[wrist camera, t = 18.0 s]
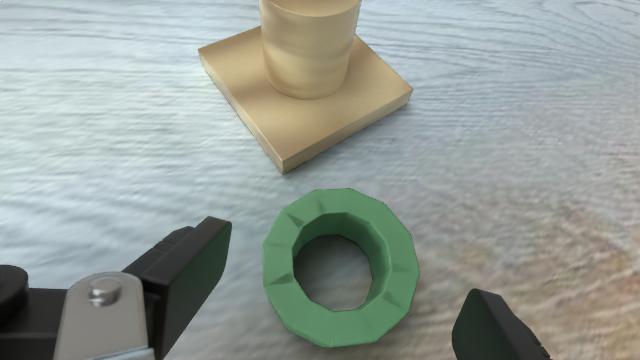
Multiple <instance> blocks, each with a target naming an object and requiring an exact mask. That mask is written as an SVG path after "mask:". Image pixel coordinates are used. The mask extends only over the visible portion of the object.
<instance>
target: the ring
mask: <svg viewBox="0 0 640 360" xmlns="http://www.w3.org/2000/svg"><path fill="white" fill-rule="evenodd" d="M336 234H339V235H341V236H343V237H345V238H347V239H349V240H352V241H354V242H356V243H357V244H358V245H359V247H360V248H361V249H362V251H363V252H364V253H365V254H366V256H367V257H368V258H369V261H370V267H371V272H372V278H373V283H372V285H371V288H370V291H369V294H368V297H367V299H366V302H365V303H364V304H362V305H361V306H360V307H359V308H357V309H356V310H347V311H337V312H334V311H332V310H330V309H328V308H326V307H324V306H322V305H320V304H318V303H316V302H314V301H312V300H310V299H309V298H308V297H307V295H306V294H305V292H304V291H303V289H302V287H301V286H300V284H299V283H298V281H297V280H296V278H295V277H294V269H293V262H294V260H295V258H296V256H297V254H298V252H299V250H300V248H301V247H302V246H303V245H305V244H306V243H308V242H309V241H311V240H312V239H314V238H315V237H317V236H322V235H336ZM419 273H420V271H419V267H418V263H417V259H416V254H415V250H414V246H413V242H412V238H411V234H410V233H409V231H408V230H407V229H406V228H405V227H404V225H403V224H402V223H401V222H400V221H399V220H398V218H397V217H396V216H395V215H394V214H393V212H392V211H391V210H390V209H389V208H388V207H387V205H385V204H384V203H383V202H380V201H378V200H376V199H373V198H371V197H369V196H367V195H364V194H362V193H360V192H358V191H355V190H353V189H350V188H345V189H326V190H314V191H312V192H310V193H309V194H307V195H305V196H304V197H302V198H300V199H299V200H297V201H295V202H294V203H292V204H290V205H289V206H287V207H285V208H284V209H283V210H282V211H281V212H280V214H279V216H278V218H277V219H276V221H275V223H274V225H273V227H272V228H271V230H270V232H269V234H268V236H267V237H266V239H265V241H264V244H263V284H264V288H265V291H266V293H267V296H268V298H269V300H270V302H271V303H272V305H273V307H274V308H275V310H276V312H277V313H278V315H279V316H280V318H281V320H282V321H283V323H284V325H285V326H286V328H287V329H289V331H291V332H292V333H294V334H296V335H298V336H300V337H302V338H304V339H306V340H308V341H310V342H312V343H314V344H316V345H318V346H320V347H330V348H333V347H341V346H350V345H359V344H367V343H373V342H376V341H378V340H379V339H380V338H381V337H382V336H383V335H384V334H386V333H387V332H388V331H389V330H390V329H391V328H392V327H394V326H395V325H396V324H397V323H398V322H399V321H400V320H402V319H403V318H404V317H405V316H406V315H407V313H408V312H409V309H410V306H411V302H412V299H413V296H414V292H415V289H416V285H417V282H418V278H419V275H420V274H419Z"/></svg>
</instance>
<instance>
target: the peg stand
mask: <svg viewBox="0 0 640 360" xmlns="http://www.w3.org/2000/svg"><path fill="white" fill-rule="evenodd" d="M361 2H362V0H259V8H260V20H261V26H259V27H256V28H254V29H251V30H248V31H246V32H243V33H240V34H237V35H235V36H232V37H229V38H227V39H224V40H221V41H218V42H216V43H213V44H210V45H208V46H205V47H202V48H200V49H198V52H199V56H200V59H201V62H202V65H203V68H204V69H205V70H206V72H207V73H208V74H209V76H210V77H211V78H212V80H213V81H214V82H215V84H216V85H217V87H218V88H219V89H220V91H221V92H222V93H223V95H224V96H225V97H226V99H227V100H228V101H229V103H230V104H231V105H232V107H233V108H234V110H235V111H236V112H237V114H238V115H239V116H240V118H241V119H242V120H243V122H244V123H245V124H246V126H247V127H248V128H249V130H250V131H251V132H252V134H253V135H254V137H255V138H256V139H257V141H258V142H259V143H260V145H261V146H262V147H263V149H264V150H265V151H266V153H267V154H268V155H269V157H270V158H271V159H272V161H273V162H274V164H275V165H276V166H277V168H278V169H279V170H280V172H281V173H282V174H284V173H286V172H288V171H290V170H291V169H293V168H295V167H297V166H298V165H300V164H302V163H304V162H305V161H307V160H309V159H311V158H313V157H314V156H316V155H318V154H320V153H321V152H323V151H325V150H327V149H328V148H330V147H332V146H334V145H335V144H337V143H339V142H341V141H343V140H344V139H346V138H348V137H350V136H351V135H353V134H355V133H357V132H358V131H360V130H362V129H364V128H366V127H367V126H369V125H371V124H373V123H374V122H376V121H378V120H380V119H381V118H383V117H385V116H387V115H389V114H390V113H392V112H394V111H396V110H397V109H399V108H401V107H403V106H404V105H406V104H407V102H408V100H409V98H410V96H411V94H412V92H413V88H412V87H411V86H410V85H409V84H408V83H407V82H406V81H405V80H403V79H402V78H401V77H400V76H399V75H398V74H397V73H396V72H395V71H394V70H393V69H392V68H391V67H390V66H389V65H388V64H387V63H386V62H384V61H383V60H382V59H381V58H380V57H379V56H378V55H377V54H376V53H375V52H374V51H373V50H372V49H371V48H370V47H369V46H368V45H367V44H365V43H364V42H363V41H362V40H361V39H360V38H359V37H358V36H357V35H356V34H355V30H356V26H357V21H358V16H359V12H360V7H361Z"/></svg>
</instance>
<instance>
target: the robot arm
mask: <svg viewBox="0 0 640 360" xmlns="http://www.w3.org/2000/svg"><path fill="white" fill-rule="evenodd" d="M231 230H232V223H231V222H229V221H226V220H222V219H218V218H215V217H211V216H208V217H207V218H205V219H204V220H203V221H202V222H201V223H200V224H198V225H197V226H196V227H195V228H194V227H190V226H187V227H184V228H181V229H178V230H175V231H173V232H172V233H170V234H169V235H168V236H166V237H165V238H164V239H163V240H162V241H160V242H159V243H157V244H156V245H155V246H154V247H153V248H151V249H150V250H148V251H147V252H146V253H144V254H143V255H142V256H141V257H139V258H138V259H137V260H135V261H134V262H133V263H132V264H130V265H129V266H128V267H126V268H125V269H124V270H123V271H121V272H103V273H98V274H94V275H91V276H88V277H86V278H83V279H81V280H80V281H78V282H76V283H75V284H74V285H73V286H72V287H71V288H70V289H43V288H29V286H28V274H27V272H26V271H25V270H23V269H21V268H19V267H16V266H12V265H0V360H163V359H164V358H165V356H166V355H167V353H168V352H169V351H170V349H171V348H172V346H173V345H174V344H175V342H176V341H177V339H178V338H179V337H180V335H181V334H182V332H183V331H184V330H185V328H186V327H187V325H188V324H189V323H190V321H191V320H192V318H193V317H194V316H195V314H196V313H197V311H198V310H199V309H200V307H201V306H202V304H203V303H204V302H205V300H206V299H207V297H208V296H209V295H210V293H211V292H212V290H213V289H214V288H215V286H216V285H217V283H218V282H219V280H220V278H221V276H222V274H223V271H224V268H225V265H226V260H227V254H228V248H229V242H230V236H231ZM452 346H453V349H454V352H455V355H456V357H457V360H552V359H550V355H549V354H548V353H547V351H546V350H545V349H544V347H542V346H541V343H540V342H539V340H538V339H537V338H536V336H535V335H534V334H533V332H532V331H531V329H529V328H528V327H527V326H526V325H525V324H524V323H523V322H522V321H521V320H519V319H518V318H517V317H516V316H515V315H514V314H513V312H512V311H511V310H510V308H509V307H508V305H507V304H506V303H505V301H504V300H503V298H502V297H501V296H500V295H498V294H494V293H491V292H487V291H483V290H479V289H476V288H474V289H472V290H471V291H470V292H469V294H468V296H467V298H466V300H465V302H464V304H463V307H462V309H461V311H460V313H459V316H458V318H457V320H456V322H455V325H454V327H453V331H452Z"/></svg>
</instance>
